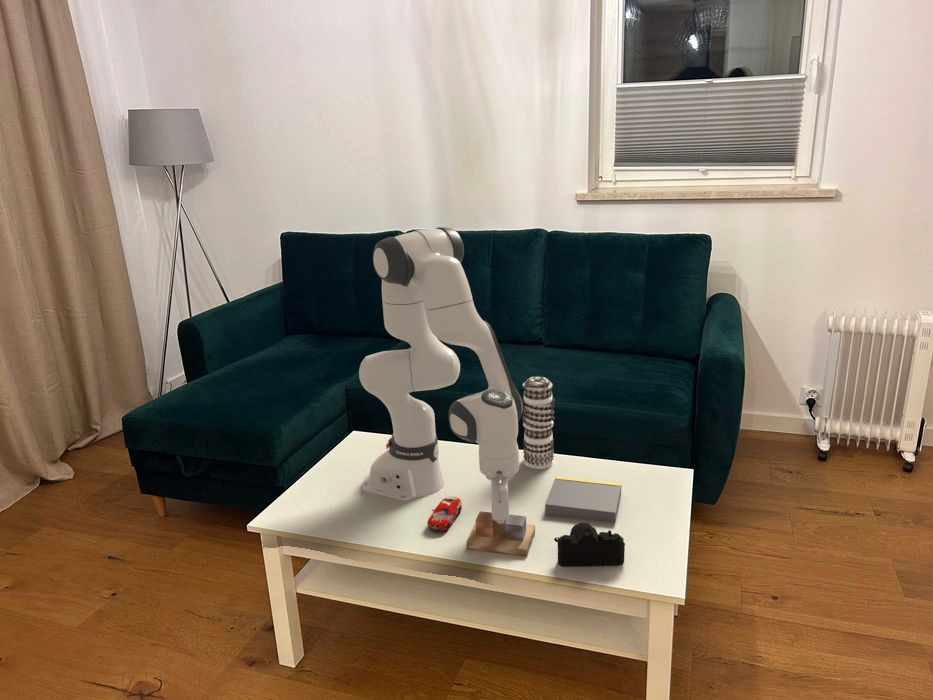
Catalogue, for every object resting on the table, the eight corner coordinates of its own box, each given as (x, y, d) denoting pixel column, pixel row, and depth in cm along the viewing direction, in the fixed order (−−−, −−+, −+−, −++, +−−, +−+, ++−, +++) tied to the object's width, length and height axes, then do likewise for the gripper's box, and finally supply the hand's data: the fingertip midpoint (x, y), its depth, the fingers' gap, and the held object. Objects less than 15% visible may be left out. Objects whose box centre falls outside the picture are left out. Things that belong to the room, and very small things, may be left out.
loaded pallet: (466, 551, 165) (464, 507, 161) (477, 527, 174) (476, 485, 170) (527, 559, 161) (526, 514, 157) (535, 534, 170) (534, 491, 166)
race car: (445, 535, 170) (444, 520, 169) (424, 531, 172) (423, 516, 171) (465, 508, 182) (465, 494, 181) (445, 504, 184) (445, 490, 182)
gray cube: (505, 539, 164) (505, 523, 163) (509, 529, 168) (509, 514, 167) (523, 541, 163) (522, 525, 162) (526, 531, 167) (526, 516, 166)
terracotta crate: (476, 535, 166) (475, 520, 165) (480, 526, 170) (479, 511, 169) (493, 537, 165) (492, 522, 164) (496, 527, 169) (496, 513, 168)
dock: (545, 514, 178) (545, 503, 177) (555, 486, 190) (555, 475, 189) (615, 523, 173) (615, 512, 172) (621, 493, 185) (621, 483, 184)
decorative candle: (551, 471, 198) (551, 387, 190) (518, 467, 201) (516, 384, 193) (558, 456, 206) (558, 374, 198) (526, 452, 209) (525, 372, 201)
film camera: (618, 544, 165) (619, 510, 162) (626, 571, 156) (627, 535, 153) (552, 546, 166) (551, 512, 163) (555, 572, 156) (555, 536, 153)
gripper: (514, 485, 151) (515, 541, 155) (512, 441, 170) (513, 492, 174) (484, 486, 151) (486, 542, 155) (485, 441, 170) (487, 493, 175)
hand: (500, 515), depth 165 cm, fingers closed on loaded pallet, 3 cm apart
